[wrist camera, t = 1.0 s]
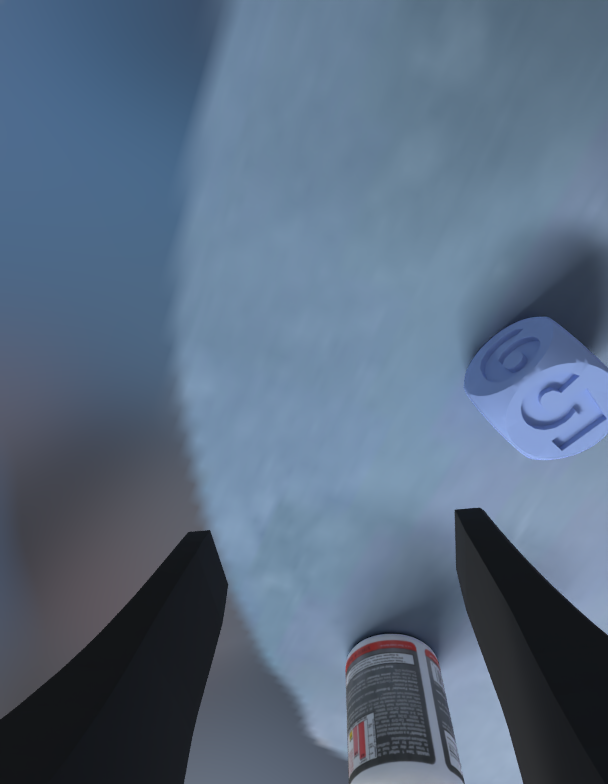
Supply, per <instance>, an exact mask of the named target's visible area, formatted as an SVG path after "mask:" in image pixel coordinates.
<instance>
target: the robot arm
mask: <svg viewBox="0 0 608 784" xmlns="http://www.w3.org/2000/svg"><path fill="white" fill-rule="evenodd" d="M455 541H456V570H457V574H458V578H459V583H460V587H461V591H462V595H463V599H464V603H465V607H466V610H467V613H468V616H469V619H470V622H471V624H472V627H473V630H474V633H475V635H476V638H477V641H478V644H479V647H480V649H481V652H482V655H483V657H484V660H485V663H486V666H487V668H488V671H489V674H490V677H491V679H492V682H493V685H494V688H495V690H496V693H497V696H498V699H499V701H500V704H501V707H502V710H503V713H504V716H505V719H506V723H507V726H508V729H509V732H510V736H511V740H512V743H513V747H514V751H515V754H516V758H517V762H518V765H519V769H520V773H521V776H522V780H523V784H608V635H607V634H606V633H604V632H603V631H602V630H601V629H600V628H598V627H597V626H596V625H595V624H594V623H593V622H591V621H590V620H589V619H588V618H587V617H586V616H585V615H583V614H582V613H581V612H580V611H579V610H578V609H577V608H576V607H575V606H573V605H572V604H571V603H570V602H569V601H568V600H567V599H566V598H565V597H564V596H563V595H562V594H561V593H559V592H558V591H557V590H556V589H555V588H554V587H553V586H552V585H551V584H550V583H549V582H548V581H547V580H546V579H545V578H544V577H543V576H542V575H541V574H540V573H539V572H538V571H537V570H536V569H535V568H534V567H533V566H532V565H531V564H530V563H529V562H528V560H527V559H526V558H525V557H524V556H523V555H522V554H521V553H520V552H519V551H518V550H517V549H516V548H515V547H514V545H513V544H512V543H511V542H510V541H509V540H508V539H507V538H506V536H505V535H504V534H503V533H502V532H501V531H500V530H499V528H498V527H497V526H496V525H495V524H494V522H493V521H492V520H491V519H490V517H489V516H488V515H487V514H486V512H485V511H484V510H482V509H481V508H470V509H458V510H455ZM227 589H228V583H227V580H226V577H225V574H224V571H223V568H222V565H221V562H220V559H219V556H218V553H217V550H216V547H215V544H214V541H213V538H212V535H211V532H210V530H207V531H195V532H188V533H187V535H186V536H185V537H184V538H183V539H182V540H181V541H180V543H179V544H178V545H177V546H176V547H175V549H174V550H173V551H172V552H171V553H170V555H169V556H168V557H167V558H166V559H165V561H164V562H163V563H162V564H161V565H160V566H159V568H158V569H157V570H156V571H155V573H154V574H153V575H152V576H151V577H150V578H149V580H148V581H147V582H146V583H145V584H144V585H143V586H142V588H141V589H140V590H139V591H138V592H137V593H136V595H135V596H134V597H133V598H132V599H131V600H130V601H129V602H128V603H127V605H125V607H124V608H123V609H122V610H121V611H120V612H119V613H118V614H117V615H116V616H115V617H114V618H113V619H112V621H111V622H110V623H109V624H108V625H107V626H106V627H105V628H104V629H103V630H102V631H101V632H100V633H99V634H98V635H97V636H96V637H95V638H94V639H93V640H92V641H91V642H90V643H89V644H88V645H87V646H86V647H85V648H84V649H83V650H82V651H81V652H79V653H78V654H77V655H76V656H75V657H74V658H73V659H72V660H71V661H70V662H69V663H68V664H67V665H66V666H64V667H63V668H62V669H61V670H60V671H59V672H58V673H57V674H55V675H54V676H53V677H52V678H51V679H49V680H48V681H47V682H46V683H45V684H43V685H42V686H41V687H40V688H39V689H37V690H36V691H35V692H34V693H33V694H32V695H30V696H29V697H28V698H27V699H26V700H25V701H23V702H22V703H21V704H20V705H18V706H17V707H16V708H15V709H13V710H12V711H11V712H10V713H9V714H7V715H6V716H4V717H3V718H2V719H0V784H184V779H185V774H186V768H187V762H188V757H189V752H190V746H191V741H192V736H193V731H194V727H195V723H196V719H197V715H198V711H199V707H200V703H201V700H202V696H203V693H204V689H205V685H206V682H207V678H208V675H209V671H210V667H211V664H212V660H213V657H214V653H215V649H216V645H217V642H218V637H219V634H220V630H221V626H222V622H223V616H224V610H225V603H226V596H227Z"/></svg>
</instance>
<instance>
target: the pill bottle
mask: <svg viewBox="0 0 608 784" xmlns="http://www.w3.org/2000/svg"><path fill="white" fill-rule="evenodd" d="M346 702H347V737H348V774H349V784H465V783H464V778H463V774H462V769H461V764H460V760H459V755H458V750H457V746H456V741H455V736H454V732H453V727H452V722H451V717H450V713H449V708H448V704H447V699H446V694H445V690H444V685H443V680H442V676H441V671H440V666H439V663H438V659H437V657H436V655H435V654H434V652H433V651H432V650H431V648H430V647H429V646H427V645H426V644H425V643H423V642H422V641H420V640H418V639H416V638H413V637H410V636H407V635H402V634H381V635H376V636H372V637H369V638H367V639H365V640H363V641H361V642H360V643H358V644H357V645H356V646H355V647H354V648H353V649H352V650H351V652H350V653H349V655H348V657H347V661H346Z"/></svg>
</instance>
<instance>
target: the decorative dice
mask: <svg viewBox="0 0 608 784" xmlns="http://www.w3.org/2000/svg"><path fill="white" fill-rule="evenodd" d="M464 390H465V392H466V394H467V395H468V397H469V398H470V400H471V401H472V402H473V404H474V405H475V406H476V408H477V409H478V410H479V411H480V412H481V414H482V415H483V416H484V417H485V418H486V419H487V420H488V421H489V423H490V424H491V425H492V426H493V427H494V428H495V429H496V430H497V431H498V432H499V433H500V434H501V435H502V436H503V437H504V438H505V439H506V440H507V441H508V442H509V443H510V444H511V445H512V446H514V447H515V448H516V449H517V450H518V451H519V452H521V453H522V454H523V455H525V456H526V457H528V458H530V459H536V460H553V459H561V458H565V457H569V456H572V455H575V454H578V453H581V452H583V451H585V450H587V449H589V448H590V447H592V446H593V445H595V444H596V443H598V442H599V441H600V440H601V439H603V438H604V437H605V436H606V435H607V434H608V368H607V367H606V366H605V365H604V364H603V363H602V362H601V361H600V360H599V359H598V358H597V357H596V356H595V355H594V354H593V353H592V352H591V351H589V350H588V349H587V348H586V347H585V346H584V345H583V344H582V343H581V342H579V341H578V340H577V339H576V338H575V337H574V336H573V335H571V334H570V333H569V332H568V331H567V330H565V329H564V328H563V327H562V326H560V325H559V324H558V323H557V322H555V321H554V320H552V319H551V318H549V317H547V316H545V317H531V318H527V319H523V320H520V321H518V322H516V323H514V324H512V325H510V326H508V327H506V328H505V329H503V330H502V331H500V332H499V333H497V334H496V335H495V336H494V337H492V338H491V339H490V340H489V341H488V342H487V343H486V344H485V345H484V346H483V347H482V348H481V349H480V350H479V351H478V353H477V354H476V355H475V357H474V358H473V359H472V361H471V363H470V365H469V367H468V369H467V371H466V374H465V380H464Z"/></svg>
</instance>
